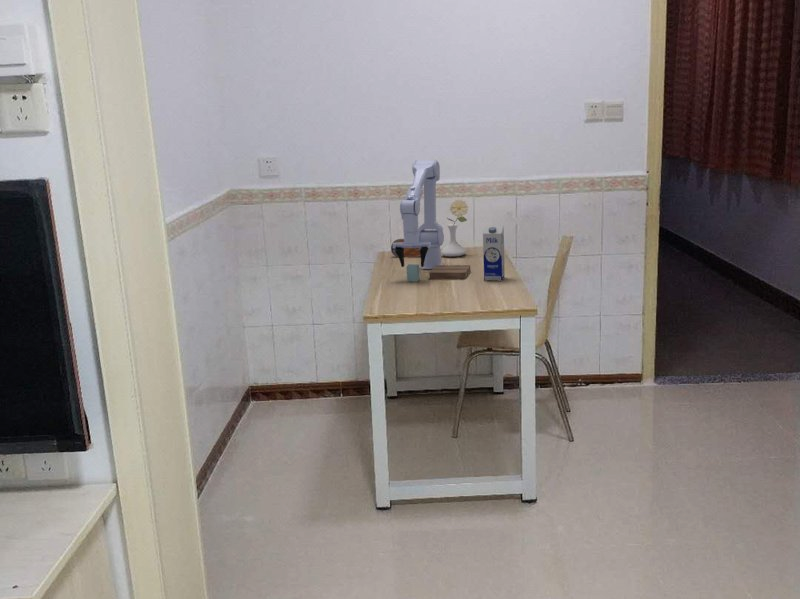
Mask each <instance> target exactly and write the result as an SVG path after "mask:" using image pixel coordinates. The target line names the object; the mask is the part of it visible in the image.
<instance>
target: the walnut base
mask: <svg viewBox="0 0 800 599" xmlns="http://www.w3.org/2000/svg"><path fill="white" fill-rule="evenodd" d="M470 273H471V265H469V264H467V265H466V264H465V265H463V264H462V265H456V264H455V265H453V264H451V265H450V264H449V265H442V266H435V267H434V268H433V269H430V271H429V273H428V274H429V280H466V279H467V278H468V276H469V275H468V274H470ZM466 277H467V278H466Z"/></svg>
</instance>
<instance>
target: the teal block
mask: <svg viewBox="0 0 800 599" xmlns="http://www.w3.org/2000/svg"><path fill="white" fill-rule="evenodd" d="M418 280H419V281H420V264H419V263H417V264H416V263H415V264H414V263H412V264H411V263H409V264H407V265H406V282H407V281H418ZM419 281H418V282H419Z"/></svg>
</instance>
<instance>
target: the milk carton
mask: <svg viewBox="0 0 800 599" xmlns="http://www.w3.org/2000/svg"><path fill="white" fill-rule="evenodd" d="M504 226H505V225H485V226H484V229H483V231H482V250H483V251H482V252H483V281H484V280H502V279H503V278H504V279H505V277H506V276H505V238H504V237H505V235H504V233H505V232H504V230H505V228H504ZM504 276H505V277H504ZM504 279H503V280H504ZM503 280H502V281H503Z"/></svg>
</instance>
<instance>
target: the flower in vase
mask: <svg viewBox="0 0 800 599" xmlns="http://www.w3.org/2000/svg"><path fill="white" fill-rule="evenodd" d="M468 209H469V206H468V203H467V201H466V200H463V199H459V198H457V199H455V200H454V201H451V203H450V206H449V211H450V213H451V214H452V215H454V216H456V220H453V219H451V218H448V217H446V219H447V220H448V221H451V222H453V223H451V224H449V223H448V224H447V225H446V226H447V228H448V229H449V235H450V237H449V238H450V239H449V242H448V244H446V245H445V246H444V248H442V249H440V250H441V256H444V257H451V258H452V257H453V258H454V257H455V258H456V257H462V256H464V255H466V254H467V250H466V248H465V247H463V246H462V245H461V244H459V243H458V241H457V238H456V233H457V228H458V227H459V224H458V223H457V224H456V222H457V221H459V222H460V223H464V222H466V221H468V219H467V218H466V216H465V217H464V216H463V215H466V214H467V213H468V211H469V210H468Z"/></svg>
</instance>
